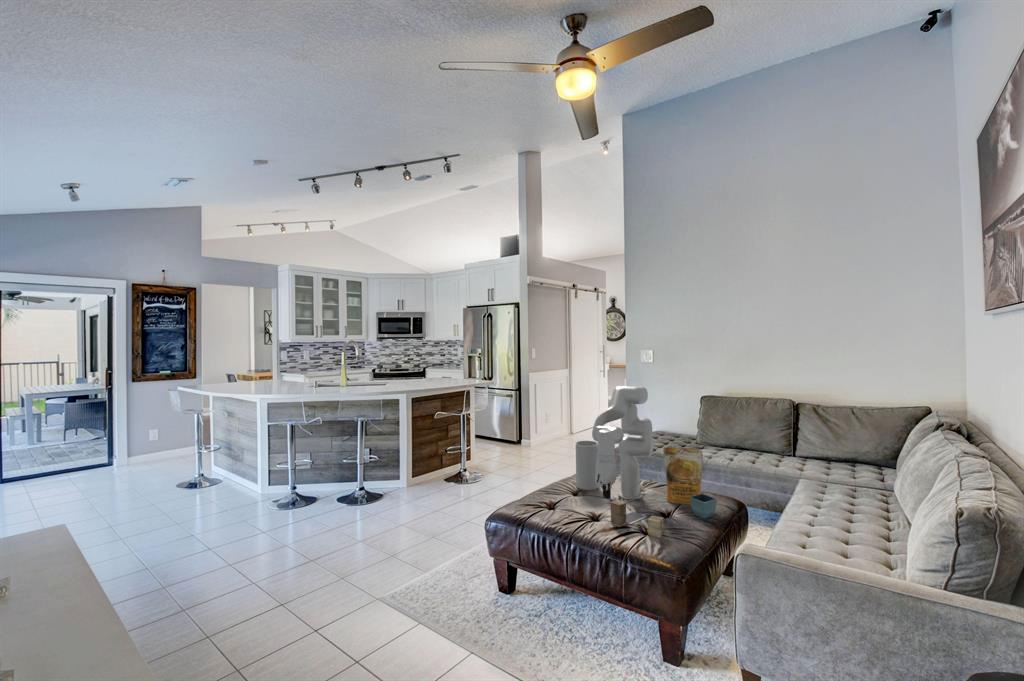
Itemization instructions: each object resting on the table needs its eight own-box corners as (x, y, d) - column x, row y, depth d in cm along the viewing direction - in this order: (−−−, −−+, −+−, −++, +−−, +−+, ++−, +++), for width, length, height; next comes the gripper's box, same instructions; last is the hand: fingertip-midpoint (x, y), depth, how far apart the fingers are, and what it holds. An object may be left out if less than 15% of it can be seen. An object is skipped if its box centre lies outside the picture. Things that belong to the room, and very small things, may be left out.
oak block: (652, 530, 216) (652, 515, 216) (663, 533, 213) (663, 517, 213) (648, 535, 212) (648, 519, 212) (659, 537, 209) (659, 521, 209)
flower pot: (704, 521, 225) (704, 502, 224) (689, 515, 233) (689, 496, 232) (717, 517, 229) (717, 499, 228) (702, 511, 237) (702, 493, 236)
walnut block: (617, 520, 228) (617, 499, 228) (626, 523, 224) (626, 502, 224) (610, 523, 225) (610, 502, 225) (619, 526, 221) (619, 505, 221)
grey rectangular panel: (631, 511, 238) (631, 511, 238) (646, 517, 231) (646, 516, 231) (614, 518, 230) (614, 518, 230) (630, 524, 223) (630, 524, 223)
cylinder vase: (580, 491, 268) (579, 446, 267) (573, 484, 280) (572, 441, 279) (601, 489, 270) (601, 445, 269) (593, 482, 282) (593, 439, 281)
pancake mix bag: (664, 498, 255) (663, 445, 254) (702, 502, 248) (702, 448, 247) (663, 502, 249) (662, 448, 248) (703, 506, 242) (702, 451, 241)
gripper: (610, 453, 226) (610, 492, 226) (588, 458, 216) (589, 499, 217) (623, 456, 220) (623, 496, 220) (602, 462, 211) (602, 504, 211)
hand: (606, 497), depth 219 cm, fingers closed
